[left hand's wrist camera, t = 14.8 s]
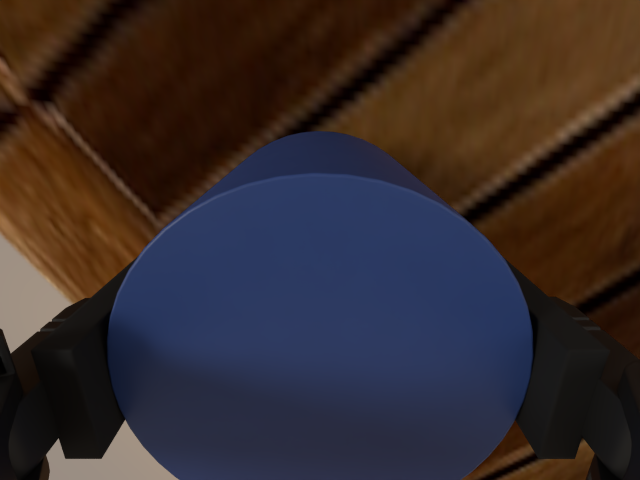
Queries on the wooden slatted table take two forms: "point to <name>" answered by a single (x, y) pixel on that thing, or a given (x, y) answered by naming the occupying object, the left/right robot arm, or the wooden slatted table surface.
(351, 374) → the cylinder
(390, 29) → the wooden slatted table surface
